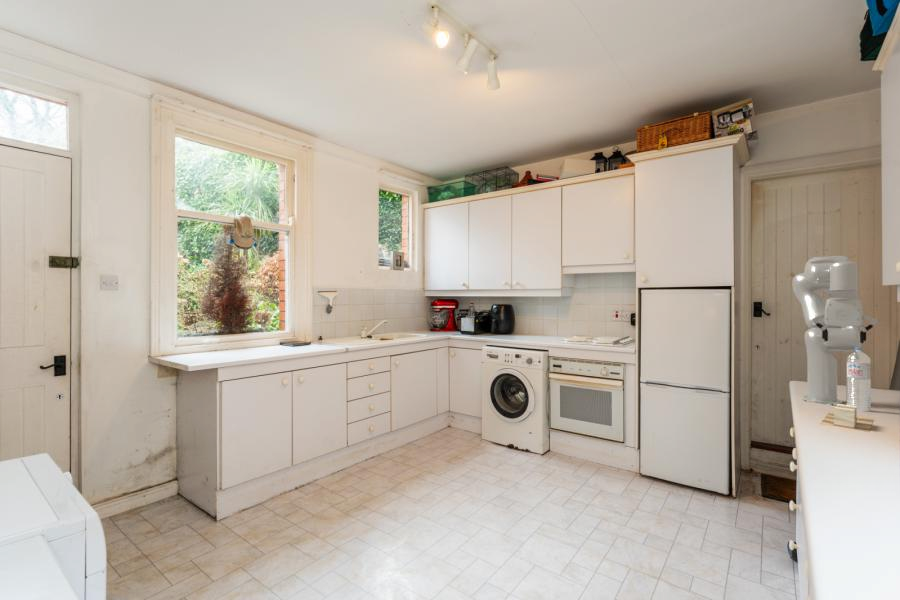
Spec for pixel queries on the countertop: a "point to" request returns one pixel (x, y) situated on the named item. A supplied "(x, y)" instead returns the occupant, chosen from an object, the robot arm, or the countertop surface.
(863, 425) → the oak board
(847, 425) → the block
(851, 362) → the water bottle
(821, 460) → the countertop surface
